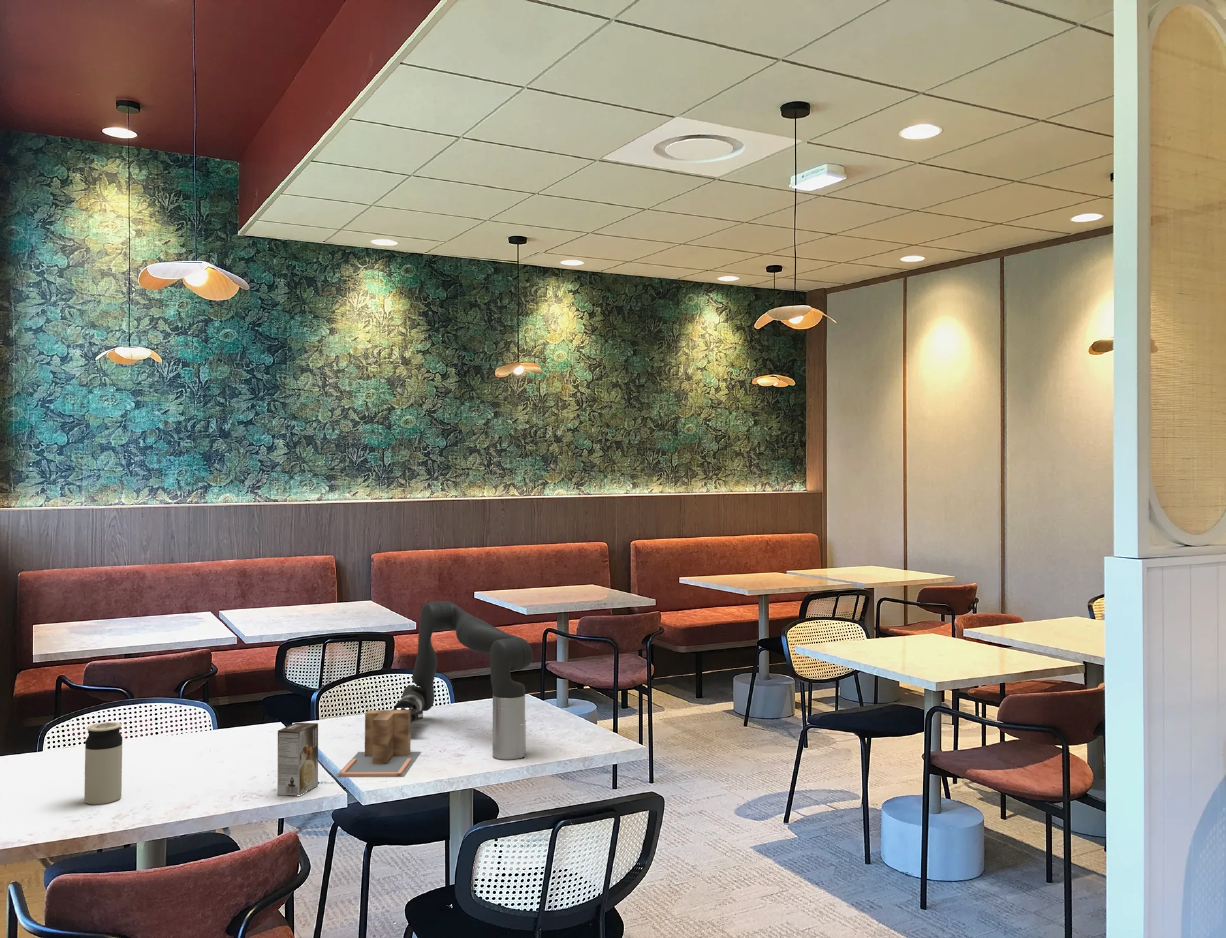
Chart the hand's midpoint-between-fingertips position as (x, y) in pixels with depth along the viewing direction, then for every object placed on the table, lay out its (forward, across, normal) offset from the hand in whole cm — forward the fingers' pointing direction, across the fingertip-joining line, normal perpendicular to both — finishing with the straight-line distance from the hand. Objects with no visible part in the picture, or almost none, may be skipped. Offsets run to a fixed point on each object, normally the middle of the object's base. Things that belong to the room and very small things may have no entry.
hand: (396, 721), depth 284 cm
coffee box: (+42, -16, +8) cm, 45 cm away
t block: (+16, 0, +6) cm, 17 cm away
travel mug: (+49, -61, +8) cm, 78 cm away
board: (+21, 0, +8) cm, 23 cm away
